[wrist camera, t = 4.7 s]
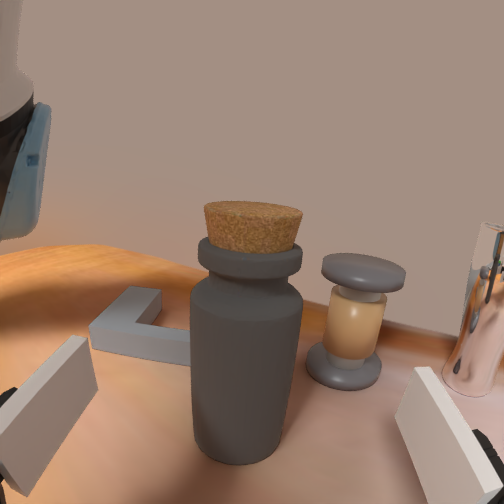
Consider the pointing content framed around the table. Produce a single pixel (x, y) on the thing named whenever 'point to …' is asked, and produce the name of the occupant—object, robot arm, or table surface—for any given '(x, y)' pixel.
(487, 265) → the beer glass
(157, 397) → the table surface
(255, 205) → the bottle
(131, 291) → the notch board
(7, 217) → the robot arm
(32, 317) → the table surface
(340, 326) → the bobbin
